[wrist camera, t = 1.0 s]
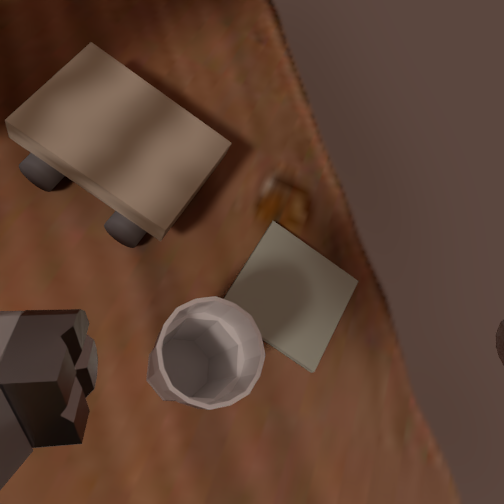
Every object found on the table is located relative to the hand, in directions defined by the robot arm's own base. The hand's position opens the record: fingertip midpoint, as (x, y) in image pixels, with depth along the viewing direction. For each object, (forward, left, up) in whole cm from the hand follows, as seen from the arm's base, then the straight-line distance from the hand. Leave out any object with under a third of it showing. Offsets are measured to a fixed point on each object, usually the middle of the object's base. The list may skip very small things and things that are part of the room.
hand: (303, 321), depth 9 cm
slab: (-12, +16, -31) cm, 37 cm away
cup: (+2, +4, -31) cm, 32 cm away
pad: (+7, +15, -31) cm, 35 cm away
